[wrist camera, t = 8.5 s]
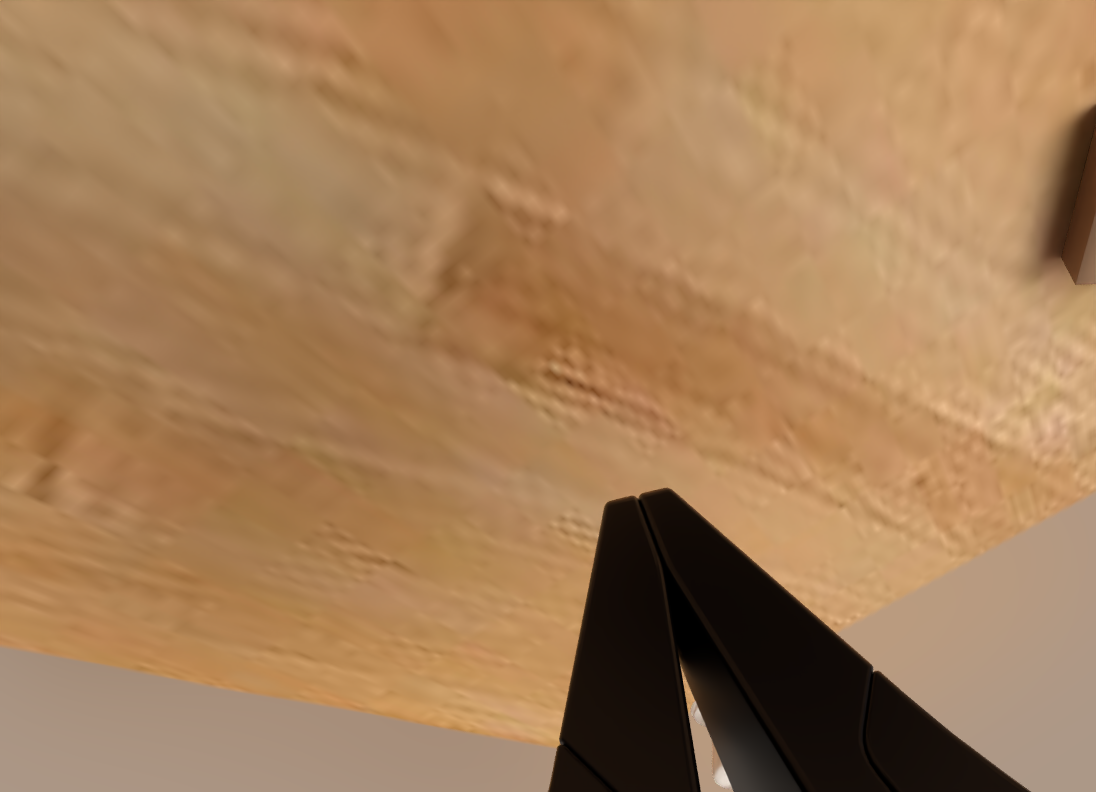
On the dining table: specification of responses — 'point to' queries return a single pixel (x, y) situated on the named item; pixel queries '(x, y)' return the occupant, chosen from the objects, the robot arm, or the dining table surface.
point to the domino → (1083, 226)
